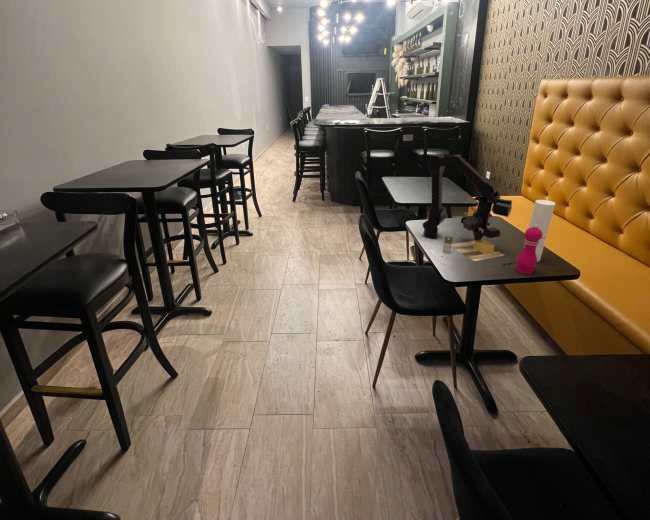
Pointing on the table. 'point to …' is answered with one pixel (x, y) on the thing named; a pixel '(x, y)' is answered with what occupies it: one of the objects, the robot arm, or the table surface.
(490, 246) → the mustard yellow box
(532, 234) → the pink bowling pin
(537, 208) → the cylindrical container
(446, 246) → the bronze metal canister
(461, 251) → the board
